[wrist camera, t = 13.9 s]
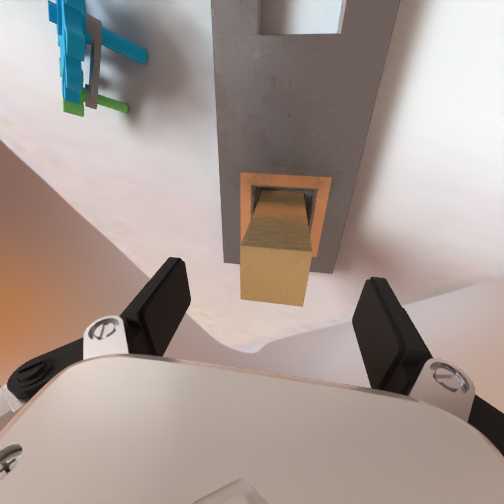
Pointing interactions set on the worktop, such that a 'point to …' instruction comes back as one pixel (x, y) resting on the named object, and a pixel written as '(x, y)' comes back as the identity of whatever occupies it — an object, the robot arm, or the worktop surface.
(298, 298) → the peg
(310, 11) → the worktop surface
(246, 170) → the rail plate
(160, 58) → the worktop surface
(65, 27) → the gear
